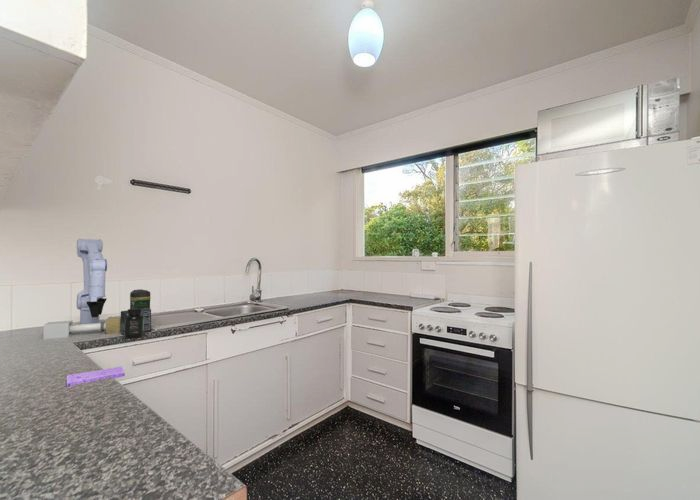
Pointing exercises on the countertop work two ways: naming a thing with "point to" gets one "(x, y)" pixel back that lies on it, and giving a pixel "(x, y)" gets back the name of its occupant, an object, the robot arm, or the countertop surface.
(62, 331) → the light grey block
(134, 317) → the supplement bottle
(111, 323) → the socket
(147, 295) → the coffee jar
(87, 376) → the sponges
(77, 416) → the countertop surface
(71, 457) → the countertop surface
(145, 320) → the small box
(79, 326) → the tube
